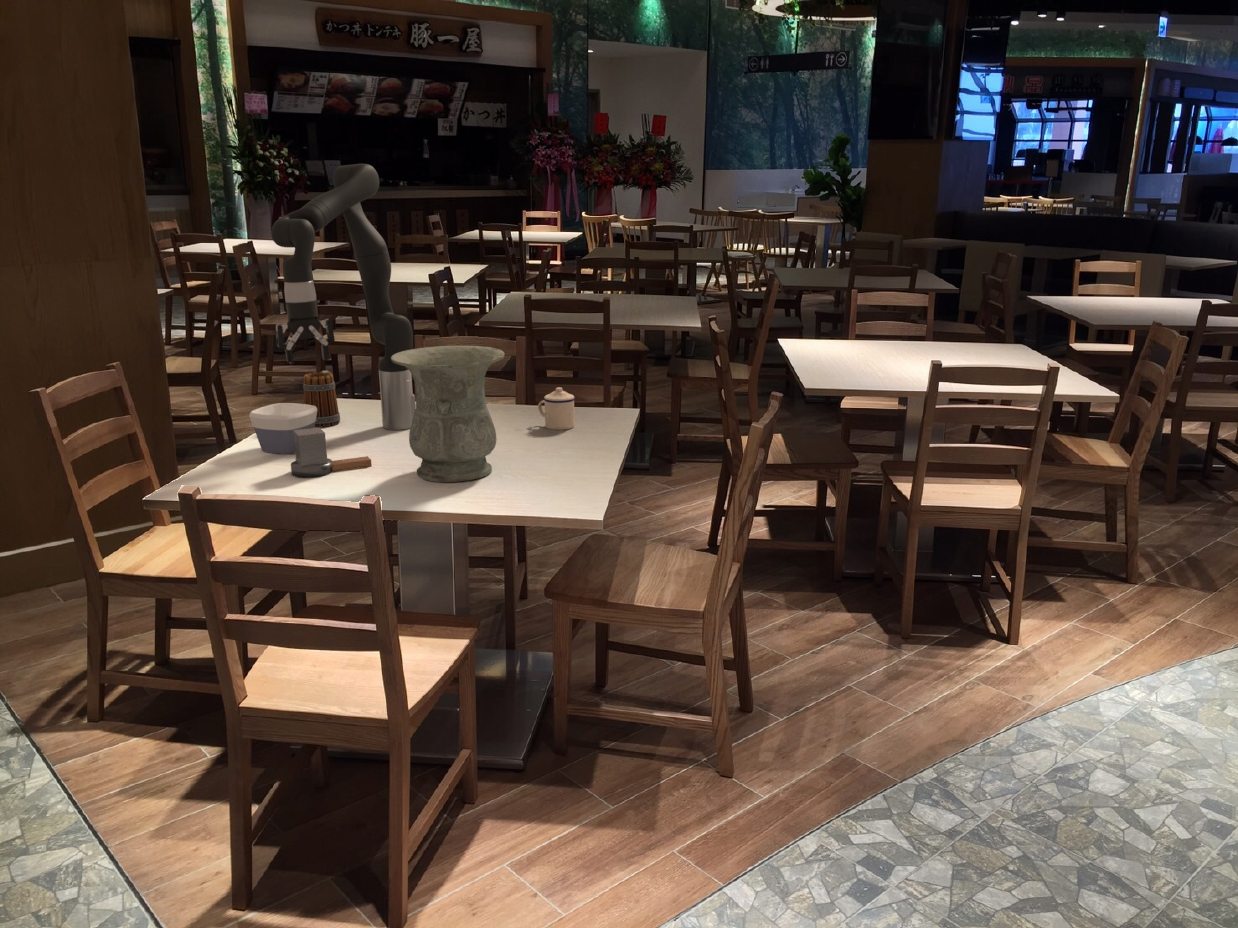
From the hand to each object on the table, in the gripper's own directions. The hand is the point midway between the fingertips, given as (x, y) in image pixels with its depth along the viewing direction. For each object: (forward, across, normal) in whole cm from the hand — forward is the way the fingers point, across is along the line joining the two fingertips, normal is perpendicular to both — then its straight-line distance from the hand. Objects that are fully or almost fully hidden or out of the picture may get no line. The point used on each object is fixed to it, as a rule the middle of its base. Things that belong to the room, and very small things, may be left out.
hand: (308, 361), depth 266 cm
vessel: (+26, -24, +35) cm, 50 cm away
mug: (+26, -11, -37) cm, 47 cm away
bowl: (+25, +6, -11) cm, 28 cm away
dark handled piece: (+25, +1, +16) cm, 30 cm away
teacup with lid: (+28, -69, +4) cm, 74 cm away
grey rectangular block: (+22, +6, +16) cm, 28 cm away
